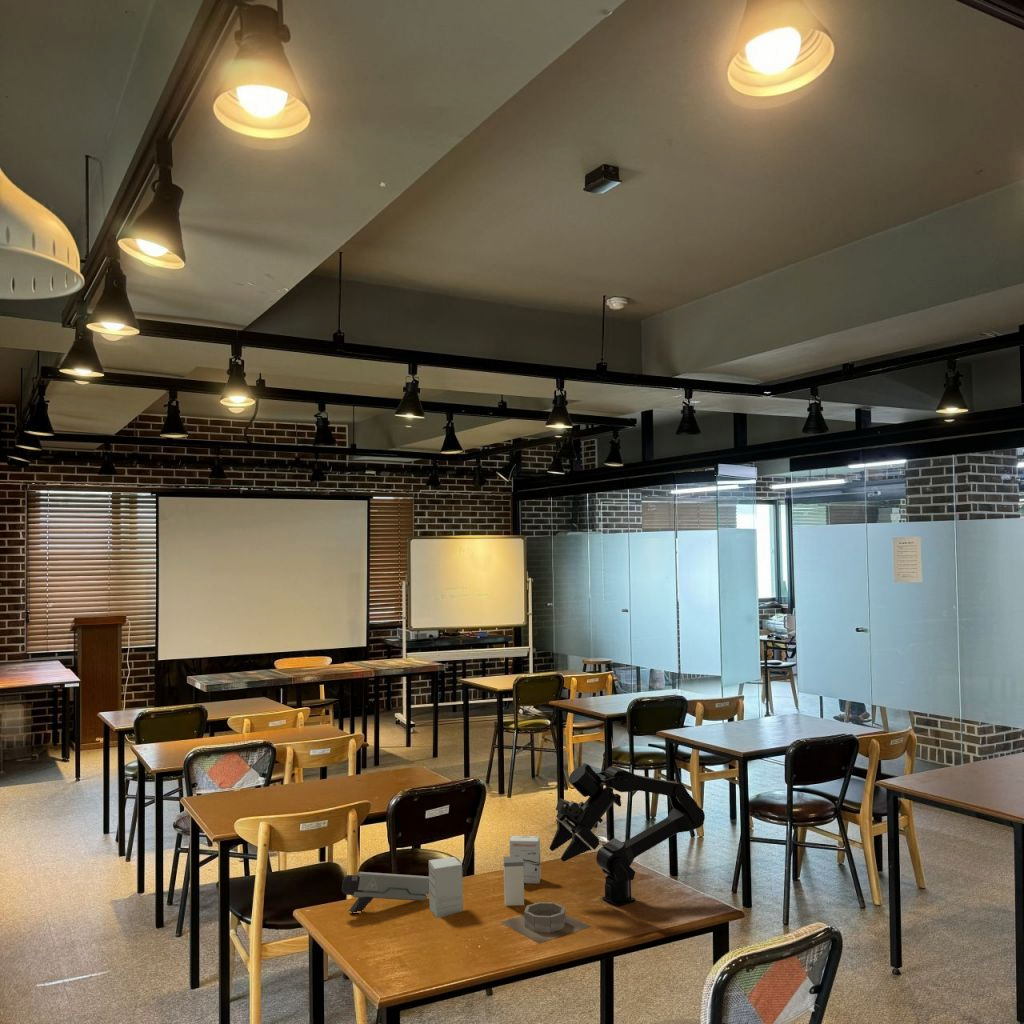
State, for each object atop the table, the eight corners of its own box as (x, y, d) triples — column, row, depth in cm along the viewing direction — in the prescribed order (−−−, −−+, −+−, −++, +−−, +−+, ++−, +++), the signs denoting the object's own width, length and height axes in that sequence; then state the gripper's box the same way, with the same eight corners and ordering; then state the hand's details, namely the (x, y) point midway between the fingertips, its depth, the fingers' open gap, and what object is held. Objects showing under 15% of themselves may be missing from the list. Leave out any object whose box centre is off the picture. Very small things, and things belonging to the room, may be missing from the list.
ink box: (509, 883, 248) (508, 840, 249) (511, 877, 253) (510, 835, 254) (539, 884, 247) (538, 841, 248) (541, 877, 252) (540, 835, 253)
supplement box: (456, 905, 232) (455, 856, 233) (463, 915, 225) (462, 864, 226) (428, 909, 230) (428, 859, 231) (435, 919, 223) (434, 868, 224)
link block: (523, 902, 233) (522, 856, 234) (524, 909, 228) (523, 862, 229) (504, 903, 233) (503, 856, 234) (505, 910, 228) (504, 862, 229)
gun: (335, 910, 227) (343, 870, 229) (424, 914, 238) (431, 876, 240) (338, 913, 225) (346, 873, 227) (427, 918, 236) (435, 879, 237)
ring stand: (550, 911, 226) (550, 893, 226) (591, 931, 213) (591, 911, 213) (499, 927, 217) (499, 907, 217) (539, 948, 204) (538, 927, 204)
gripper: (562, 780, 241) (524, 825, 237) (586, 795, 223) (545, 845, 219) (590, 806, 242) (553, 852, 238) (616, 824, 224) (576, 874, 220)
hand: (556, 855), depth 229 cm, fingers open, 9 cm apart
